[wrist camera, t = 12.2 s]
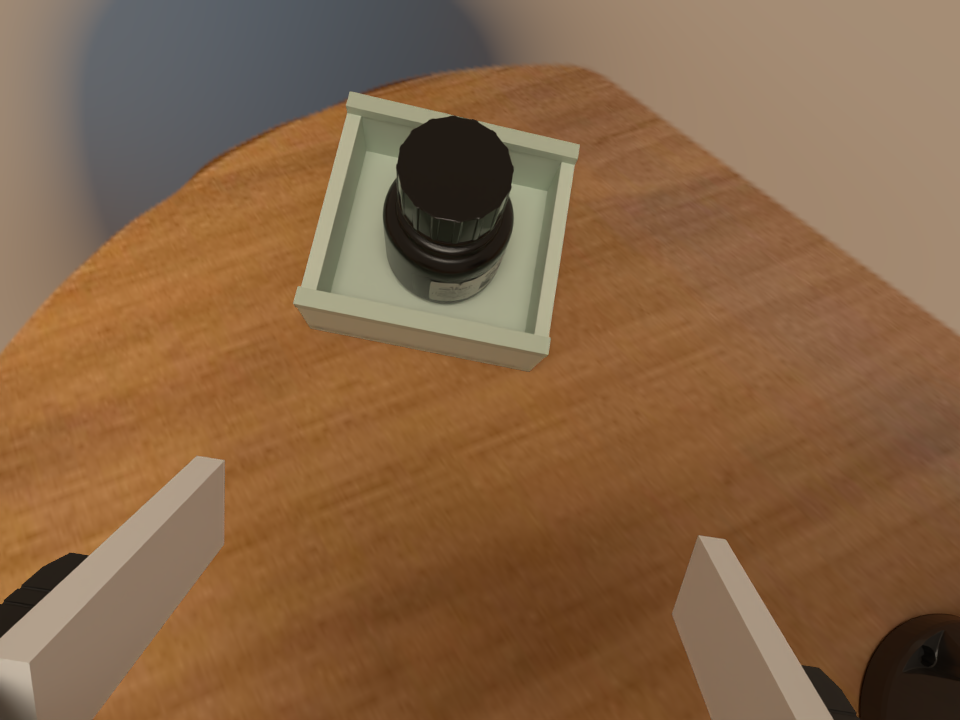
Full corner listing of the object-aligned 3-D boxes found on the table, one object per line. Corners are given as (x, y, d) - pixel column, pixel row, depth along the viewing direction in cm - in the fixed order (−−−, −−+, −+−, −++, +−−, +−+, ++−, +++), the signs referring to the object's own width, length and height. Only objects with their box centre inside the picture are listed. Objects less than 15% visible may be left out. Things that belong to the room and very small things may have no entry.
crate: (558, 188, 47) (579, 144, 41) (529, 372, 44) (548, 354, 37) (358, 143, 46) (350, 91, 40) (310, 329, 42) (293, 303, 36)
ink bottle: (452, 332, 43) (467, 275, 31) (359, 264, 43) (340, 181, 31) (524, 239, 45) (564, 154, 33) (436, 175, 45) (445, 68, 34)
